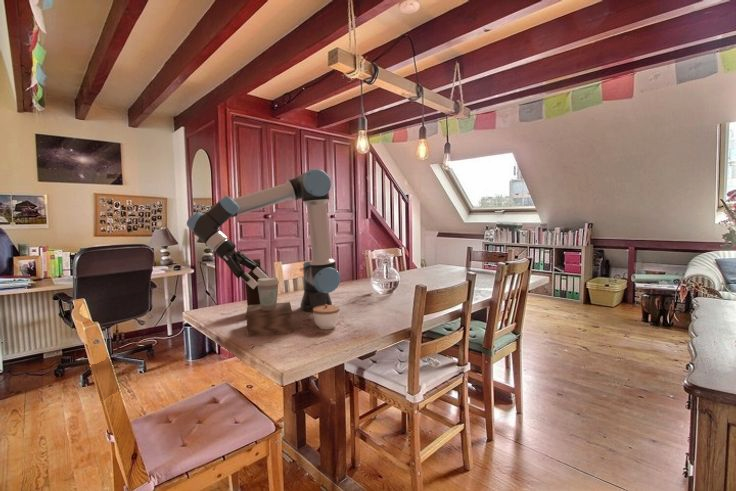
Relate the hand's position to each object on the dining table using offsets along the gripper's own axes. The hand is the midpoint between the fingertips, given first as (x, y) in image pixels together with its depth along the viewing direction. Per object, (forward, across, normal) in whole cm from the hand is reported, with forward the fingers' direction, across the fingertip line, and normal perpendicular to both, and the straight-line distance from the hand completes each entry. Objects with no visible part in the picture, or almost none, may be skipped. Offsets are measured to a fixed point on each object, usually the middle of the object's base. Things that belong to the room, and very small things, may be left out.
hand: (261, 283), depth 141 cm
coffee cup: (+9, 0, -6) cm, 11 cm away
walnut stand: (+15, 0, -11) cm, 19 cm away
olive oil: (+7, -24, -20) cm, 32 cm away
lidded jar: (+31, -2, +5) cm, 31 cm away
